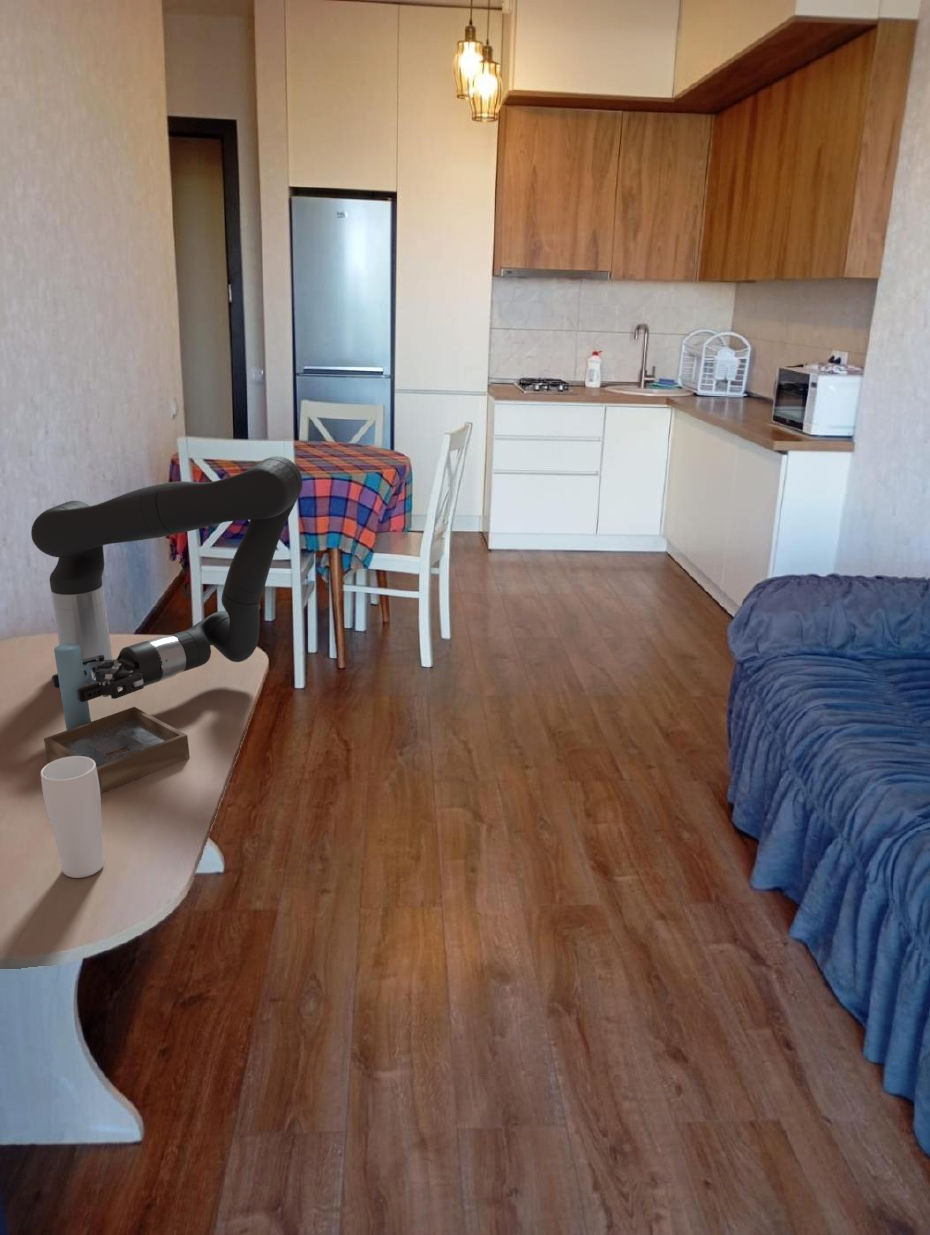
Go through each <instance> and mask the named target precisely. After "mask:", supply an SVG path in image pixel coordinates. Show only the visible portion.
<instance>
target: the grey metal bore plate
mask: <svg viewBox="0 0 930 1235" xmlns="http://www.w3.org/2000/svg"><path fill="white" fill-rule="evenodd" d="M169 739H172V738H170V737H168V736H166V735H165V734H163V733H161V732H159V731H157V730H155V729H154V728H152V727H150V726H148V725H146V724H144V723H143V722H141V721H139V720H137V719H135V718H131V719H128V720H125V721H123V722H120V723H117V724H114V725H112V726H109V727H106V728H103V729H100V730H98V731H95V732H92V733H89V734H86V735H84V736H81V737H78V738H75V739H73V740H70V741H67V742H64V743H61V745H62V746H64V747H65V748H67V749H68V750H70V751H72V752H73V753H75V754H76V755H78V756H84V757H88V758H91V759H93V760H94V761H95V763H96V767H99V766H102V765H104V764H107V763H109V762H112V761H115V760H117V759H120V758H122V757H125V756H128V755H130V754H133V753H135V752H138V751H140V750H143V749H146V748H148V747H151V746H153V745H156V744H159V743H161V742H164V741H166V740H169ZM124 748H127V749H129V750H125V751H124V752H121V753H117V754H116V755H113V756H110V757H109V756H107V755H108V754H111V753H114V752H116V751H119V750H121V749H124Z"/></svg>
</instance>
